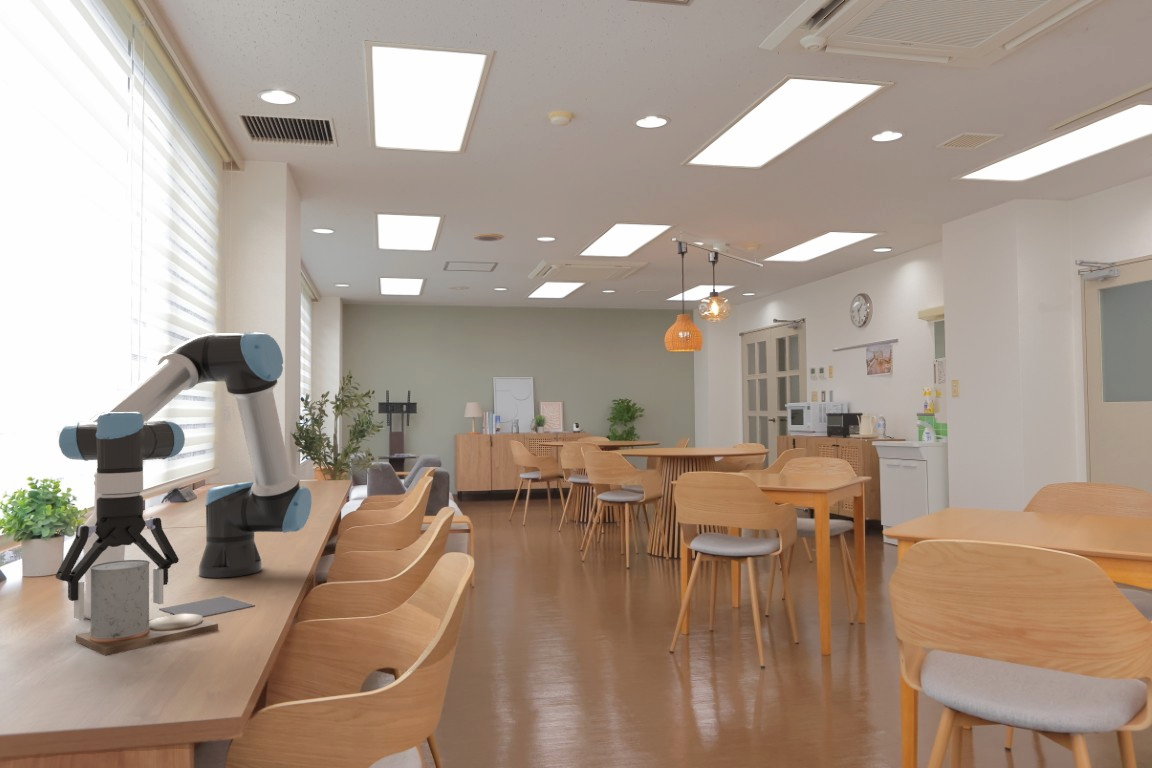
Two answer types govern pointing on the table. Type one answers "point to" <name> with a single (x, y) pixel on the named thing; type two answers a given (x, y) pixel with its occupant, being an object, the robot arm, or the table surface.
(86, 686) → the table surface
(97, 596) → the grey marbled cylinder
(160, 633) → the board
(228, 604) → the mat
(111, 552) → the bottle
